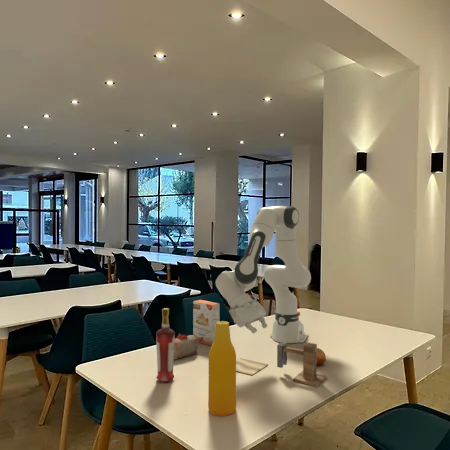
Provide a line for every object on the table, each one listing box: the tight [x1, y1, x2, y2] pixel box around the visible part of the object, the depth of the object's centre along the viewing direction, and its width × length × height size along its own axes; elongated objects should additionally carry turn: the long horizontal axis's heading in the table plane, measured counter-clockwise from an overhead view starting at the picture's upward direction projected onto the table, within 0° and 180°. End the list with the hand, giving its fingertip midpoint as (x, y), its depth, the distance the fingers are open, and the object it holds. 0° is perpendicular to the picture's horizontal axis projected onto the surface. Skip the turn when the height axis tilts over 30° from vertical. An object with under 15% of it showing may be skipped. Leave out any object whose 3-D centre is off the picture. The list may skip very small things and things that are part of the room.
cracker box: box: [192, 299, 221, 347], centre depth 206 cm, size 14×6×21 cm, turn 47°
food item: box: [174, 333, 199, 361], centre depth 186 cm, size 14×8×10 cm, turn 132°
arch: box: [276, 342, 288, 369], centre depth 165 cm, size 5×2×9 cm, turn 147°
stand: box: [283, 341, 327, 388], centre depth 161 cm, size 10×19×14 cm, turn 57°
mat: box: [236, 357, 269, 376], centre depth 172 cm, size 14×14×1 cm
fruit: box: [317, 347, 327, 367], centre depth 176 cm, size 8×8×8 cm
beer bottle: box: [207, 320, 237, 417], centre depth 133 cm, size 9×9×29 cm
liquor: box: [155, 307, 176, 384], centre depth 157 cm, size 7×7×28 cm
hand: (260, 329), depth 170 cm, fingers open, 8 cm apart
